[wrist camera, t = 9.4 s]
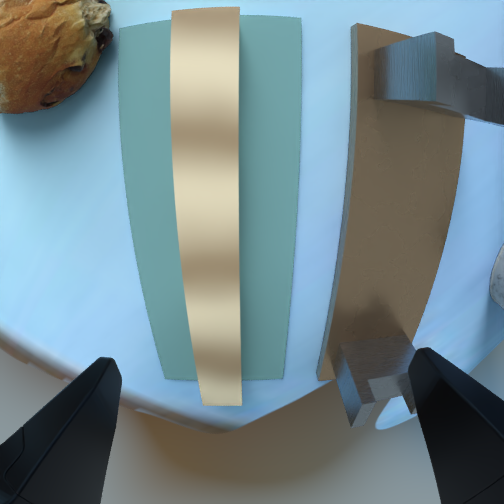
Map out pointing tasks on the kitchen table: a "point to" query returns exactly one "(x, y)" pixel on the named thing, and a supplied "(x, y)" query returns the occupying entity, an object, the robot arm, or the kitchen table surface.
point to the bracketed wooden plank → (397, 203)
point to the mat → (250, 187)
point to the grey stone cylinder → (498, 279)
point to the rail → (208, 191)
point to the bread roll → (48, 50)
